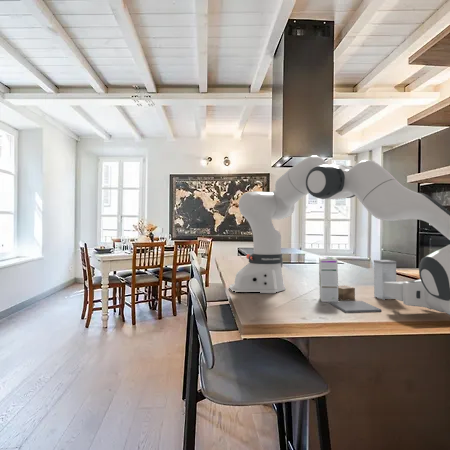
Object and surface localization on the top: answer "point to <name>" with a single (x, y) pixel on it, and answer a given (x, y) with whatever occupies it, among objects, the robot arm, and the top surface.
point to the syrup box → (328, 279)
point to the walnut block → (346, 292)
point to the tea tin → (383, 276)
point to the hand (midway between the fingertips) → (402, 284)
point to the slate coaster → (355, 306)
